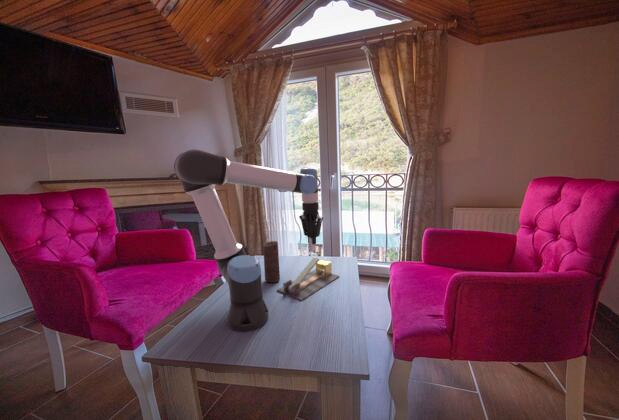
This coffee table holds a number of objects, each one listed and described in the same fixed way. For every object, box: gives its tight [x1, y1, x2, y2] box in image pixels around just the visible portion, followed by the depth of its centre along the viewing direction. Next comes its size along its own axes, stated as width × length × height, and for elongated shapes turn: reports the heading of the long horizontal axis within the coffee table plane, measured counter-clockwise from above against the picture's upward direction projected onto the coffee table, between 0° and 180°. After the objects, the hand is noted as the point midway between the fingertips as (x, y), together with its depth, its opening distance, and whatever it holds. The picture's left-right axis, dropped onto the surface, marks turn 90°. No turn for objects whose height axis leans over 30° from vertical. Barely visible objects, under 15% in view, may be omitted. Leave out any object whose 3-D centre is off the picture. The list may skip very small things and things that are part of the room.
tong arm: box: [287, 257, 320, 291], centre depth 123 cm, size 21×3×2 cm, turn 140°
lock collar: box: [315, 259, 333, 277], centre depth 135 cm, size 5×6×6 cm
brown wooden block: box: [262, 240, 281, 283], centre depth 130 cm, size 8×7×20 cm
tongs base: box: [276, 268, 340, 302], centre depth 127 cm, size 29×15×5 cm, turn 140°
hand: (312, 250), depth 127 cm, fingers closed
